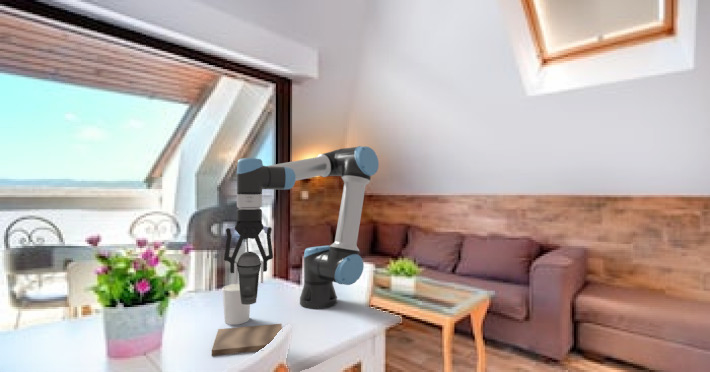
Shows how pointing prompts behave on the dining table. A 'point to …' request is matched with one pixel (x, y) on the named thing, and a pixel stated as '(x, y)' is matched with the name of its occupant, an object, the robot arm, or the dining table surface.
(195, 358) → the dining table surface
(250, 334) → the walnut board
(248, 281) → the beverage cup
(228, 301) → the candle holder
